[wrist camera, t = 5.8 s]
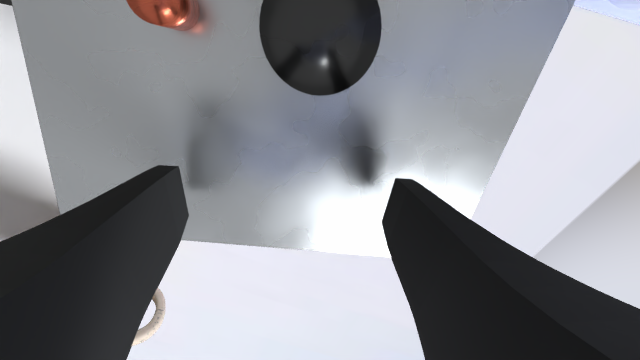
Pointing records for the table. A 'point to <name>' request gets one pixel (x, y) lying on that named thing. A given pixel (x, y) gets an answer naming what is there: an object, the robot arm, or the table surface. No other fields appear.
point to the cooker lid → (283, 105)
